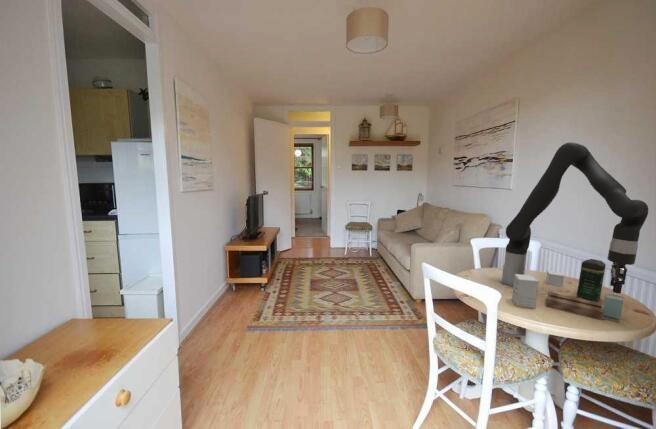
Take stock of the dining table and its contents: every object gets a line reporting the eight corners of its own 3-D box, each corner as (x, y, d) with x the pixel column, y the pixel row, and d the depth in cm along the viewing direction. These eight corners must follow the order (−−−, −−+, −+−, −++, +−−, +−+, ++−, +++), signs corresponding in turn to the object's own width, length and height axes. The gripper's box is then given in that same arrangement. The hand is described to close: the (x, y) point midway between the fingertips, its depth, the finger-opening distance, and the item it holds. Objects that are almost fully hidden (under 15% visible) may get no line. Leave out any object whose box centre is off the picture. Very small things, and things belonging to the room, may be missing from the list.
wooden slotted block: (545, 306, 124) (546, 298, 123) (547, 298, 132) (547, 291, 131) (602, 320, 113) (603, 311, 112) (599, 310, 121) (601, 302, 120)
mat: (603, 318, 114) (603, 318, 114) (602, 313, 119) (602, 312, 119) (619, 322, 111) (619, 321, 111) (617, 316, 116) (617, 316, 116)
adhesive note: (562, 286, 146) (563, 275, 145) (548, 284, 149) (549, 273, 148) (559, 283, 152) (561, 272, 151) (545, 280, 154) (547, 270, 153)
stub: (602, 315, 116) (606, 294, 114) (602, 313, 117) (605, 293, 116) (620, 319, 112) (623, 298, 111) (619, 317, 114) (623, 296, 112)
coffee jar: (596, 303, 127) (603, 264, 124) (574, 297, 133) (579, 259, 131) (602, 298, 133) (608, 260, 130) (580, 292, 139) (585, 256, 136)
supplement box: (529, 301, 128) (533, 275, 127) (535, 309, 122) (539, 281, 120) (511, 299, 131) (514, 273, 129) (516, 306, 124) (519, 278, 122)
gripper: (607, 245, 118) (600, 281, 121) (611, 252, 107) (603, 292, 110) (633, 248, 113) (625, 286, 116) (640, 256, 103) (631, 298, 105)
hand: (615, 289), depth 113 cm, fingers open, 8 cm apart
